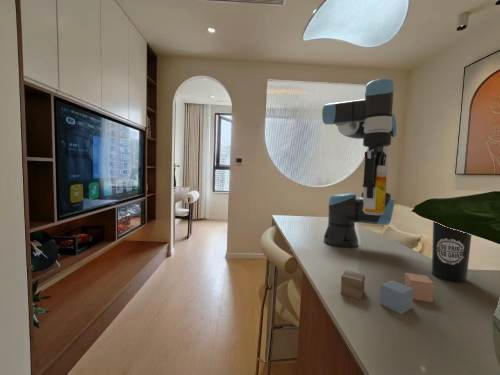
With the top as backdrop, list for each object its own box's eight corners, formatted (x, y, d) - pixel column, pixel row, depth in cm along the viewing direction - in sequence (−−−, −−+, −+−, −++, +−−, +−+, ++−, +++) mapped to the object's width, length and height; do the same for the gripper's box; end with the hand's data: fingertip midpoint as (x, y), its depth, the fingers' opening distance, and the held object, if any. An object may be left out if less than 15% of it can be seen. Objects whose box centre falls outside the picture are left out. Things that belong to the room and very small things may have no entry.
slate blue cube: (390, 298, 61) (391, 280, 61) (412, 308, 57) (413, 288, 57) (379, 304, 59) (380, 284, 58) (401, 314, 54) (402, 293, 54)
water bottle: (426, 276, 75) (431, 205, 74) (430, 267, 83) (434, 202, 82) (470, 287, 68) (475, 208, 67) (470, 276, 76) (475, 205, 75)
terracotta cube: (404, 290, 66) (405, 272, 66) (425, 293, 65) (426, 275, 64) (409, 298, 62) (410, 280, 61) (432, 302, 60) (433, 283, 60)
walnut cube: (344, 286, 68) (345, 269, 67) (364, 292, 65) (364, 274, 64) (340, 294, 63) (341, 275, 63) (361, 299, 61) (361, 280, 60)
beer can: (387, 216, 70) (390, 165, 69) (365, 215, 72) (367, 165, 71) (380, 212, 76) (382, 166, 75) (360, 211, 77) (362, 166, 77)
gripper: (373, 138, 82) (370, 204, 83) (353, 130, 68) (349, 209, 69) (398, 135, 77) (394, 206, 78) (381, 126, 63) (377, 212, 64)
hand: (373, 207), depth 74 cm, fingers closed on beer can, 6 cm apart
